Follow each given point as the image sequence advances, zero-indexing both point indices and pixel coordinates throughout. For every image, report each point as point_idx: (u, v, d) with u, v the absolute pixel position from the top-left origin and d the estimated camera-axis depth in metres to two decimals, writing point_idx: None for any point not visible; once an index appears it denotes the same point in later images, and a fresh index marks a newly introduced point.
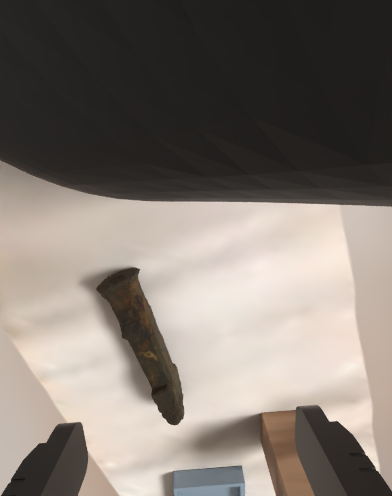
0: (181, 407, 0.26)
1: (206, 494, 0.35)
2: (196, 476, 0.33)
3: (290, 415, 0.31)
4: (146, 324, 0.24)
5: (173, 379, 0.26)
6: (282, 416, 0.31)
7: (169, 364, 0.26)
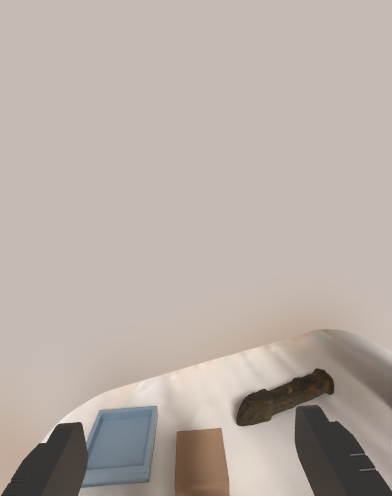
0: (256, 407, 0.37)
1: (124, 441, 0.37)
2: (154, 429, 0.38)
3: None
4: (309, 388, 0.41)
5: (273, 406, 0.39)
6: None
7: (281, 405, 0.39)
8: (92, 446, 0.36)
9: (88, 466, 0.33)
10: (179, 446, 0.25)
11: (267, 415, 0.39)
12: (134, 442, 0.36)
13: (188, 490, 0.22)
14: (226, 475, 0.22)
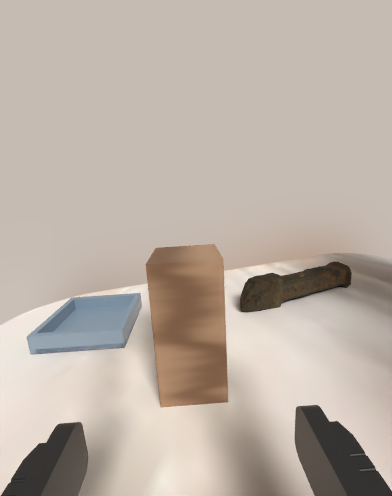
0: (263, 285, 0.30)
1: (98, 320, 0.30)
2: (136, 310, 0.31)
3: None
4: (323, 274, 0.34)
5: (283, 287, 0.31)
6: None
7: (292, 289, 0.32)
8: (58, 323, 0.29)
9: None
10: (157, 251, 0.19)
11: (276, 299, 0.31)
12: (110, 320, 0.30)
13: (166, 276, 0.15)
14: (219, 257, 0.16)
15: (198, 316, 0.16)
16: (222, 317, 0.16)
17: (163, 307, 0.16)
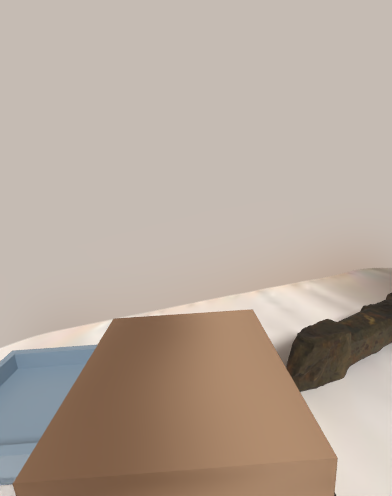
0: (326, 348, 0.18)
1: (43, 399, 0.18)
2: None
3: None
4: None
5: (352, 346, 0.19)
6: None
7: (363, 346, 0.20)
8: None
9: None
10: (109, 345, 0.07)
11: (342, 366, 0.19)
12: (62, 401, 0.18)
13: None
14: (314, 435, 0.04)
15: None
16: None
17: None
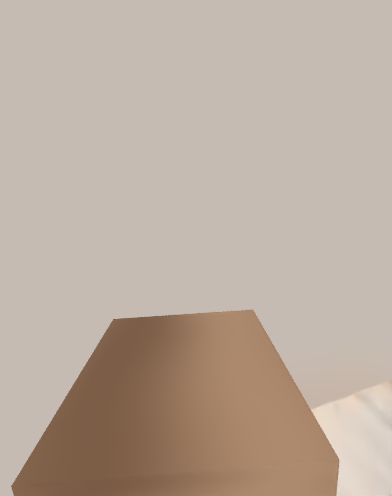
0: None
1: None
2: None
3: None
4: None
5: None
6: None
7: None
8: None
9: None
10: (108, 346, 0.07)
11: None
12: None
13: None
14: (316, 437, 0.04)
15: None
16: None
17: None
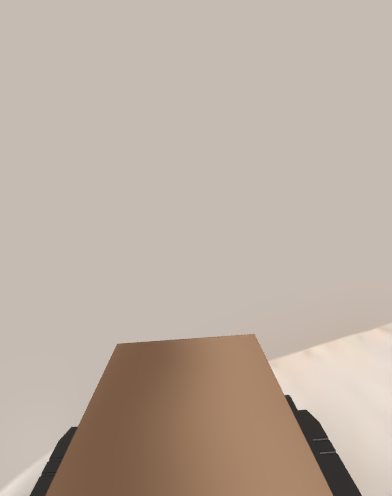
0: None
1: None
2: None
3: None
4: None
5: None
6: None
7: None
8: None
9: None
10: (113, 375, 0.07)
11: None
12: None
13: None
14: (317, 482, 0.04)
15: None
16: None
17: None
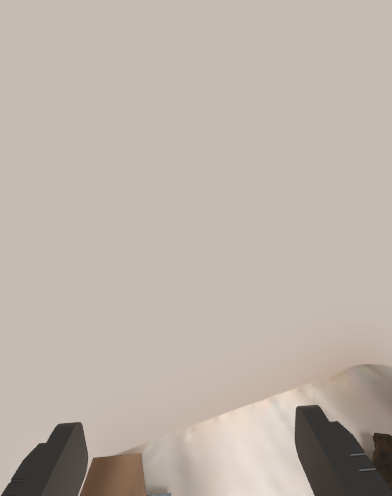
0: None
1: None
2: None
3: None
4: None
5: None
6: None
7: None
8: None
9: None
10: (90, 474, 0.24)
11: None
12: None
13: None
14: None
15: None
16: None
17: None
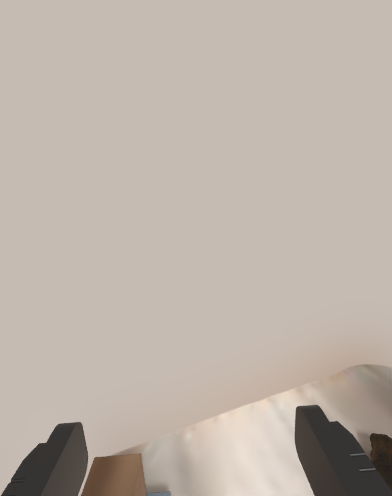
0: None
1: None
2: None
3: None
4: None
5: None
6: None
7: None
8: None
9: None
10: (92, 473, 0.24)
11: None
12: None
13: None
14: None
15: None
16: None
17: None
